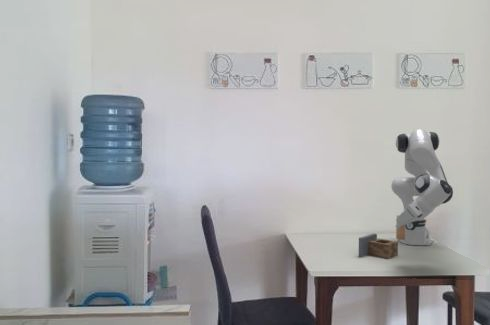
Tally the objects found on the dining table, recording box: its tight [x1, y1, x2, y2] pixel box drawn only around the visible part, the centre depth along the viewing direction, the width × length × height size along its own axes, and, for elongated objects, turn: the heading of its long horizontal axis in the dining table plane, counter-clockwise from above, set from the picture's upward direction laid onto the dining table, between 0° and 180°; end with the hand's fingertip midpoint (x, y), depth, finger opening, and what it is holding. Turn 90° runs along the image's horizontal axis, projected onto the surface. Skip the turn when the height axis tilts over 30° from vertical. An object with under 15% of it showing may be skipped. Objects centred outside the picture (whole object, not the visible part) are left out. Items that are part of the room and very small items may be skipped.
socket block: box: [367, 237, 399, 260], centre depth 226 cm, size 11×11×7 cm
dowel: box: [395, 214, 405, 240], centre depth 207 cm, size 4×4×11 cm
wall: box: [358, 233, 378, 258], centre depth 227 cm, size 16×2×10 cm, turn 137°
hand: (399, 226), depth 207 cm, fingers closed on dowel, 4 cm apart
